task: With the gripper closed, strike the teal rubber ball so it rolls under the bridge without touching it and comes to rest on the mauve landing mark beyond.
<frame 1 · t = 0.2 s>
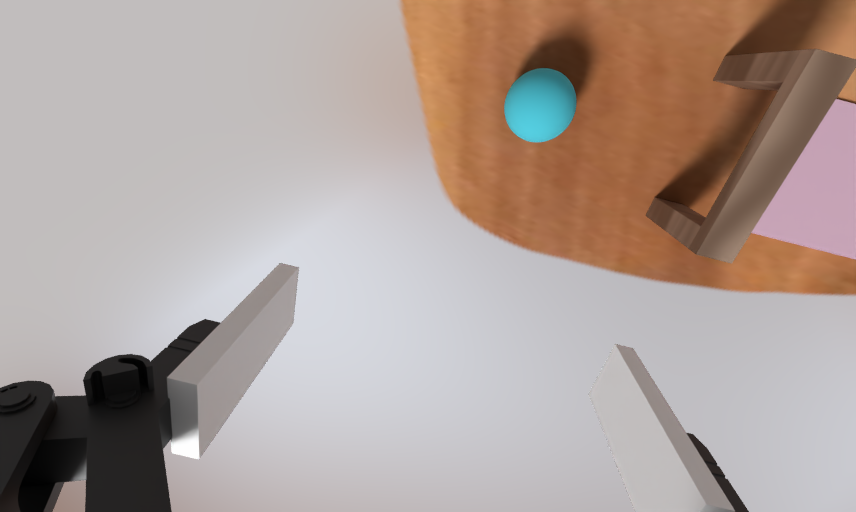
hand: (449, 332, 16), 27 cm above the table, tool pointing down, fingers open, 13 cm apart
ball: (539, 106, 34), on the table
landing mark: (837, 182, 38), on the table
bridge: (697, 146, 37), on the table
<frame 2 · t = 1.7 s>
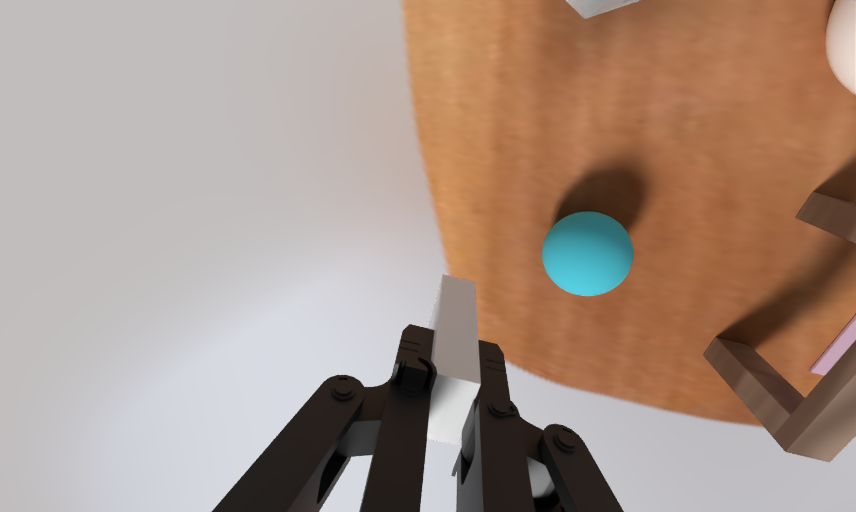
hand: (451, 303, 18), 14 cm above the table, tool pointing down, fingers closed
ball: (585, 253, 28), on the table
bridge: (770, 286, 31), on the table
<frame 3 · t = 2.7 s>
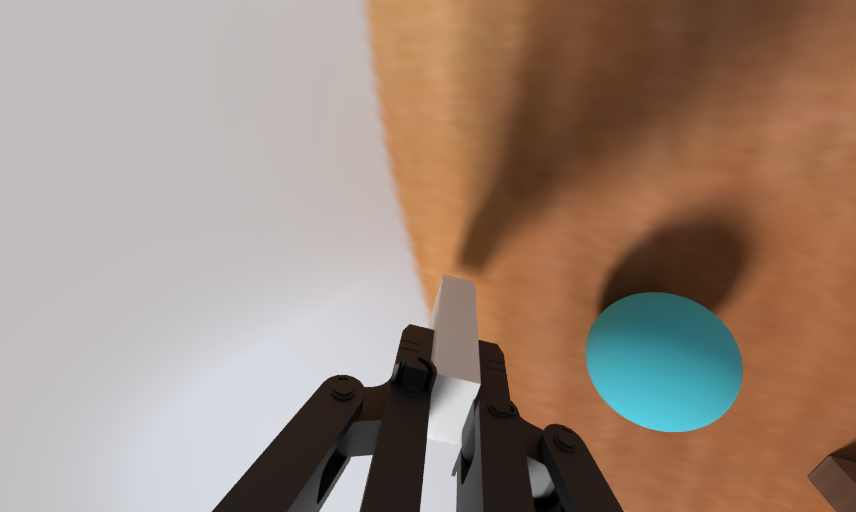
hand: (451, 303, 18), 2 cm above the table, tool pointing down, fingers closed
ball: (657, 358, 18), on the table
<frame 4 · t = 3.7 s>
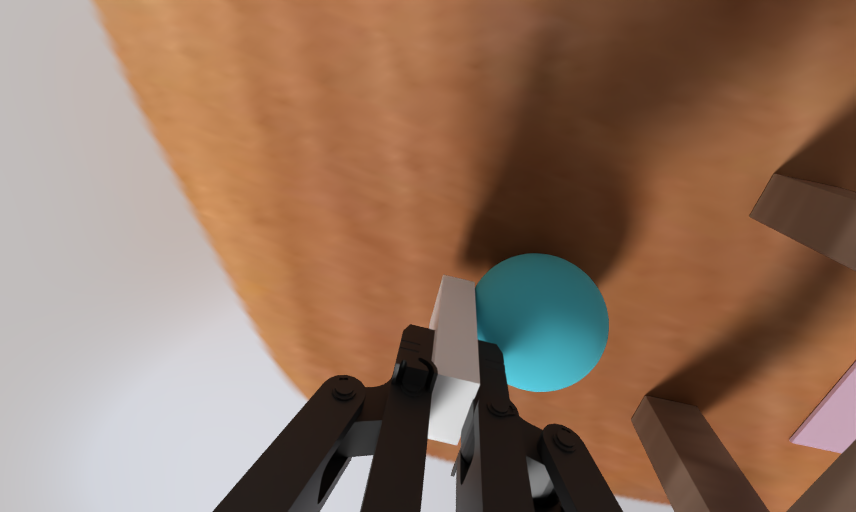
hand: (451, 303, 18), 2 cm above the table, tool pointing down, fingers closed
ball: (534, 320, 18), on the table
bridge: (719, 322, 20), on the table
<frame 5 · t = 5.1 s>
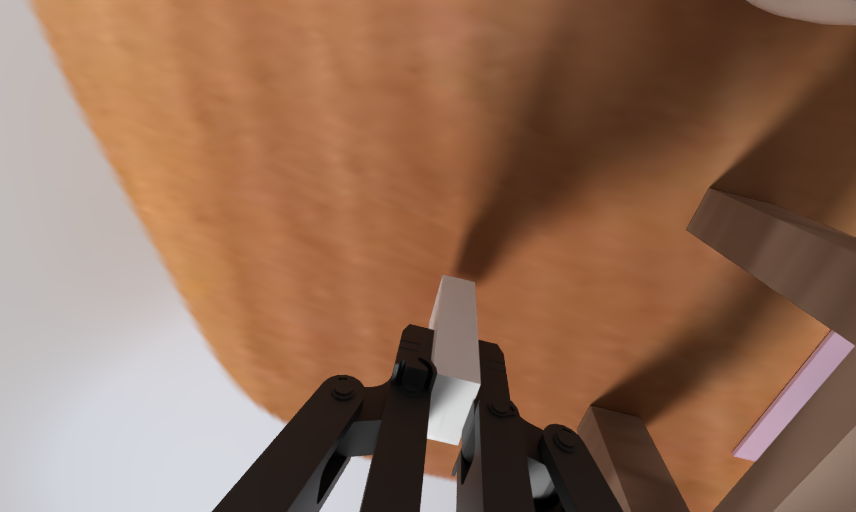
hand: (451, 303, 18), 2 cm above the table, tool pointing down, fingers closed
bridge: (660, 334, 20), on the table
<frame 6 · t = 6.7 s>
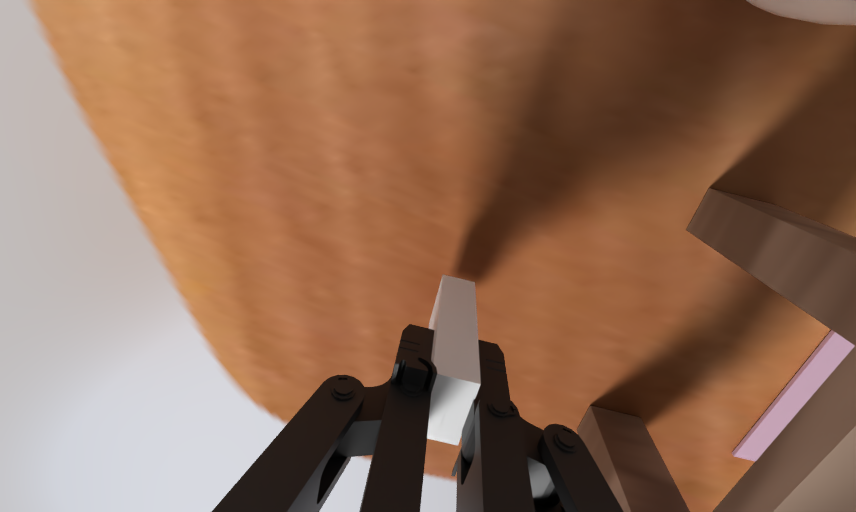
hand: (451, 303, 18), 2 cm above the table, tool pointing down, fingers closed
bridge: (660, 334, 20), on the table
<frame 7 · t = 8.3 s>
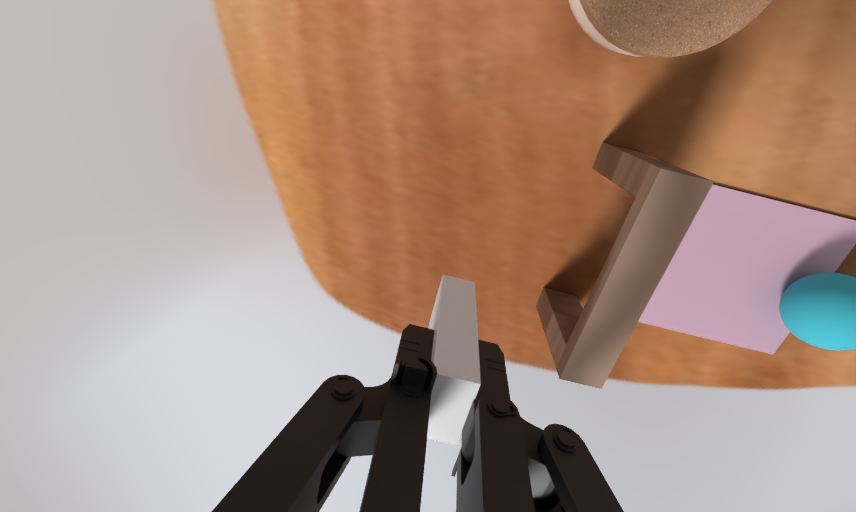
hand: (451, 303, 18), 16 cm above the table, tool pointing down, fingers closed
ball: (830, 310, 31), on the table
landing mark: (742, 275, 33), on the table
bridge: (583, 236, 33), on the table
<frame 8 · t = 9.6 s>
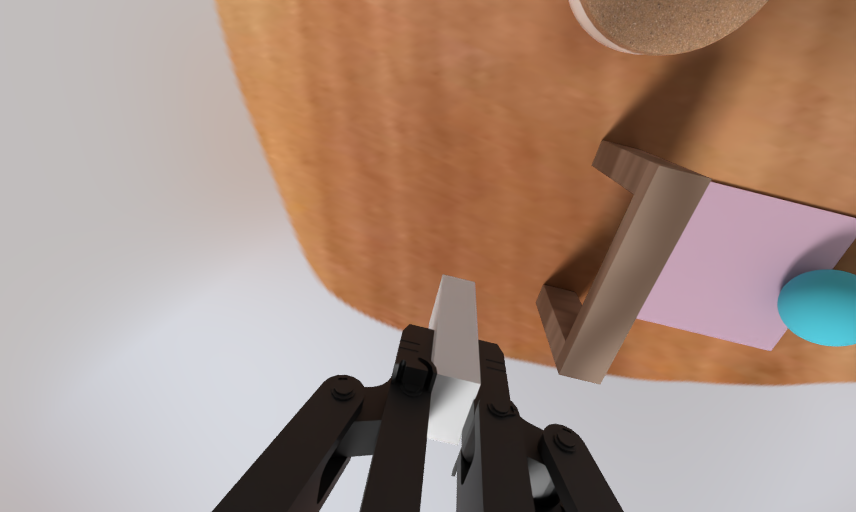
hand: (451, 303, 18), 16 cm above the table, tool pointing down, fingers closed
ball: (827, 307, 31), on the table
landing mark: (741, 272, 34), on the table
bridge: (582, 233, 33), on the table
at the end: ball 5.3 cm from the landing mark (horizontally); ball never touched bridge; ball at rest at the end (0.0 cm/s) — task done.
